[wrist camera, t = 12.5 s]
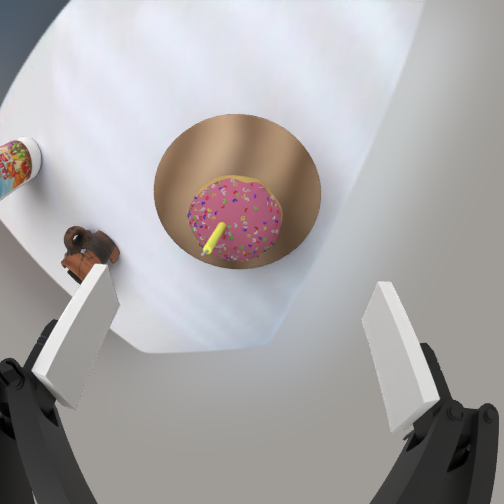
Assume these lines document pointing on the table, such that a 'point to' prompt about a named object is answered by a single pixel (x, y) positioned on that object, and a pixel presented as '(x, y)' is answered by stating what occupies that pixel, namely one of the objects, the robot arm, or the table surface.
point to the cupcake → (235, 218)
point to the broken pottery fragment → (95, 252)
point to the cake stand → (242, 164)
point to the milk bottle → (18, 164)
